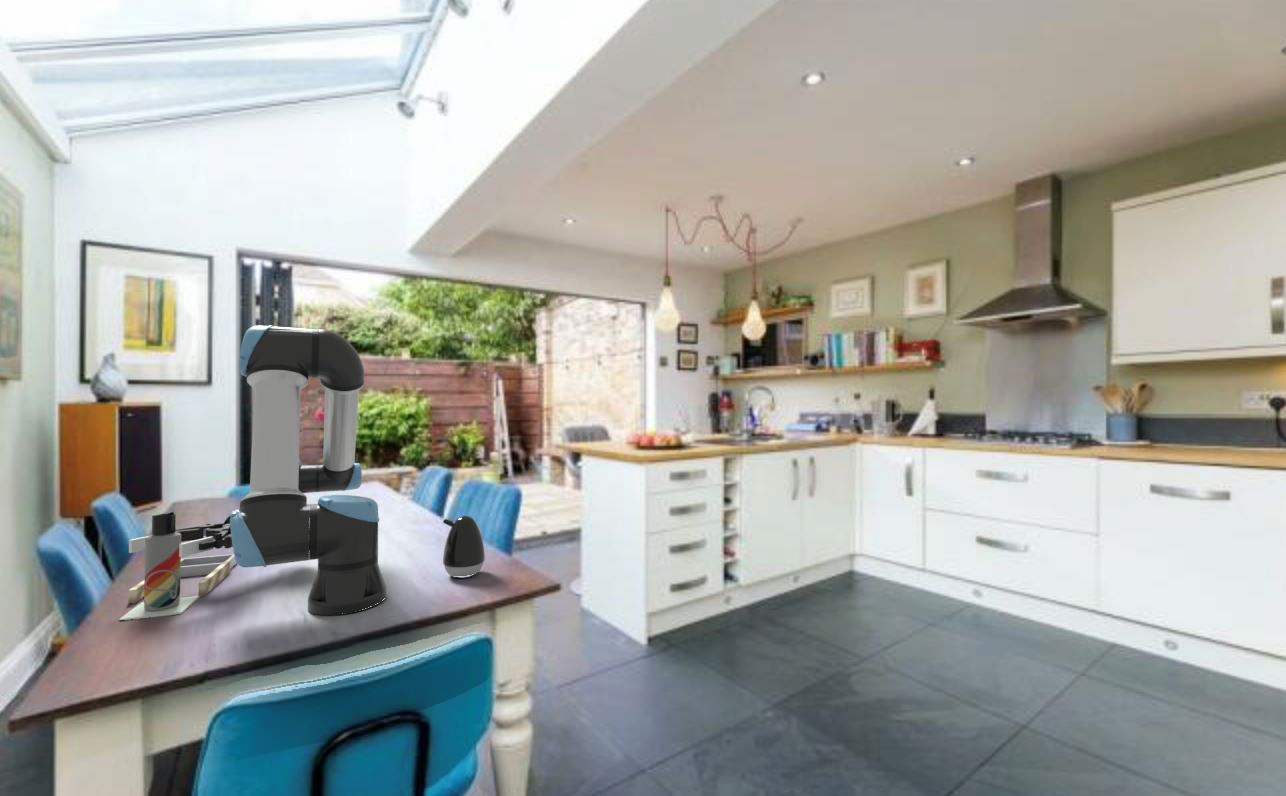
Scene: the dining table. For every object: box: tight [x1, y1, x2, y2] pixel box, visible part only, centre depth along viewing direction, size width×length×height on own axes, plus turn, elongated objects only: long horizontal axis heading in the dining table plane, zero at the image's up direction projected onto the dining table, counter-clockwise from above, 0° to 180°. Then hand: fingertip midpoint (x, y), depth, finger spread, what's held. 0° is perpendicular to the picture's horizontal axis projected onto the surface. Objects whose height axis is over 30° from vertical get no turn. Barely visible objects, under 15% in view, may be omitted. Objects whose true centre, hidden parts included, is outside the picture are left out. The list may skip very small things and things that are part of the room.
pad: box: [118, 595, 201, 621], centre depth 114 cm, size 10×10×1 cm
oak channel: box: [127, 561, 231, 604], centre depth 127 cm, size 18×13×3 cm
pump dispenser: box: [442, 515, 486, 577], centre depth 137 cm, size 10×10×15 cm
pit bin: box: [180, 553, 238, 578], centre depth 139 cm, size 9×12×2 cm
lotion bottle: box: [143, 511, 182, 611], centre depth 114 cm, size 6×6×20 cm
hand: (154, 548), depth 112 cm, fingers open, 13 cm apart
